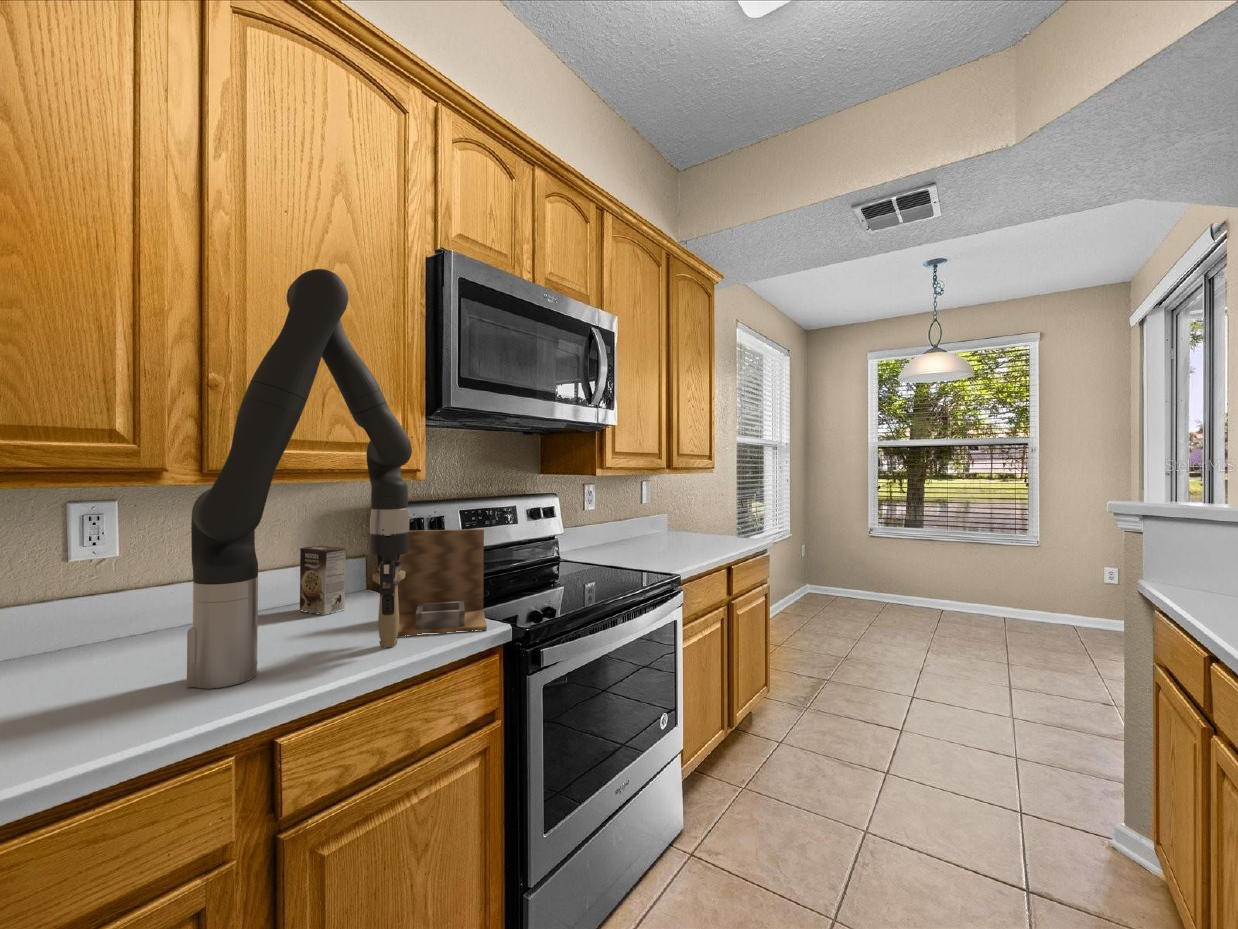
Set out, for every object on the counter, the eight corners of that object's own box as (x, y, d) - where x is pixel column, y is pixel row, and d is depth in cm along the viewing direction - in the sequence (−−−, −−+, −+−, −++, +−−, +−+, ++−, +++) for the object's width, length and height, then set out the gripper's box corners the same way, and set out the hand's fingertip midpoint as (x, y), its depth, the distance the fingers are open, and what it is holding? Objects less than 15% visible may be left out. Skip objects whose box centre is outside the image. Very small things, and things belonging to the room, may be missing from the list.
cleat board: (391, 637, 122) (392, 539, 122) (399, 615, 141) (400, 530, 141) (486, 630, 128) (487, 537, 128) (482, 610, 146) (483, 528, 146)
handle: (409, 644, 118) (410, 571, 118) (382, 652, 113) (383, 576, 113) (394, 640, 121) (394, 569, 121) (367, 648, 115) (367, 574, 115)
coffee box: (298, 612, 143) (298, 547, 143) (320, 606, 149) (321, 544, 149) (324, 616, 139) (324, 550, 139) (346, 610, 145) (346, 546, 145)
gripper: (374, 527, 122) (375, 602, 123) (365, 535, 109) (365, 620, 109) (411, 525, 125) (412, 599, 125) (406, 534, 111) (407, 616, 111)
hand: (390, 609), depth 117 cm, fingers open, 8 cm apart
